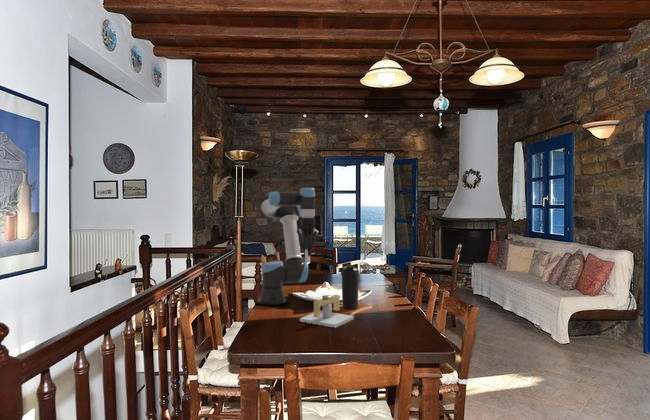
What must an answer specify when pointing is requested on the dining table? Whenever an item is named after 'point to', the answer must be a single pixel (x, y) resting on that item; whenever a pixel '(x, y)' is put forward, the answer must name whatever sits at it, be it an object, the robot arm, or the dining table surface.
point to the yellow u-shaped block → (326, 300)
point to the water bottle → (350, 287)
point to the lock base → (327, 318)
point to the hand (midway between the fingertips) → (307, 262)
